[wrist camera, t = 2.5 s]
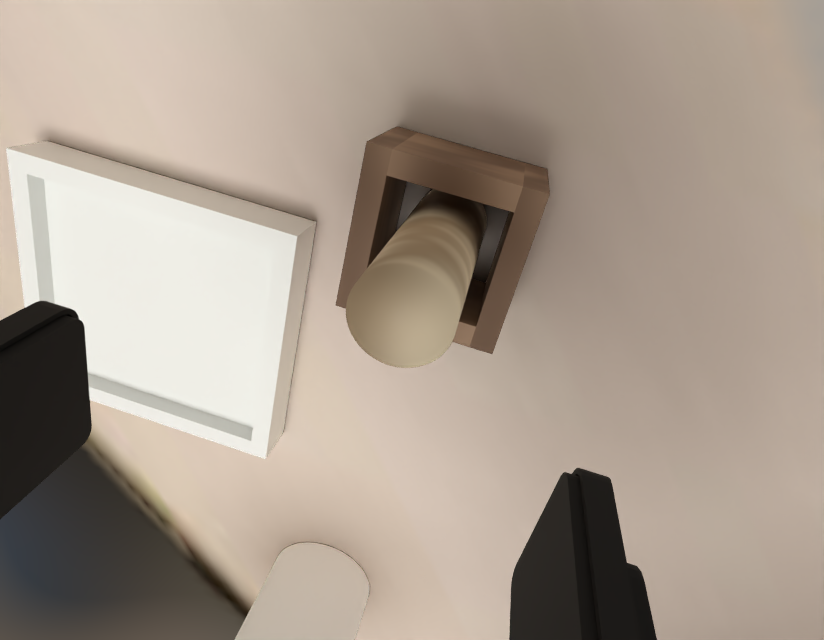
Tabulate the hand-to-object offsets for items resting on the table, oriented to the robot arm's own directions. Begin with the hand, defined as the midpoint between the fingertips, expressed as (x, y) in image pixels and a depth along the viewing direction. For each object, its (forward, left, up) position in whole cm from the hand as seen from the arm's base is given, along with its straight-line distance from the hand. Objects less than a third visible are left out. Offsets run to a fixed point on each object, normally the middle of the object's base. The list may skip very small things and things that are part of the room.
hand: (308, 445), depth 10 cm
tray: (+14, +9, -18) cm, 24 cm away
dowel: (0, 0, -18) cm, 18 cm away
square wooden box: (0, 0, -18) cm, 18 cm away
